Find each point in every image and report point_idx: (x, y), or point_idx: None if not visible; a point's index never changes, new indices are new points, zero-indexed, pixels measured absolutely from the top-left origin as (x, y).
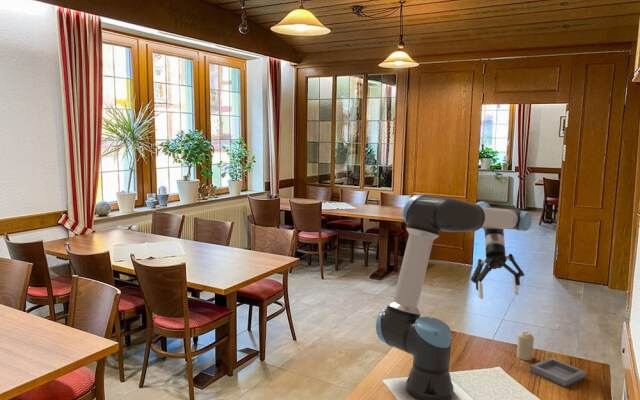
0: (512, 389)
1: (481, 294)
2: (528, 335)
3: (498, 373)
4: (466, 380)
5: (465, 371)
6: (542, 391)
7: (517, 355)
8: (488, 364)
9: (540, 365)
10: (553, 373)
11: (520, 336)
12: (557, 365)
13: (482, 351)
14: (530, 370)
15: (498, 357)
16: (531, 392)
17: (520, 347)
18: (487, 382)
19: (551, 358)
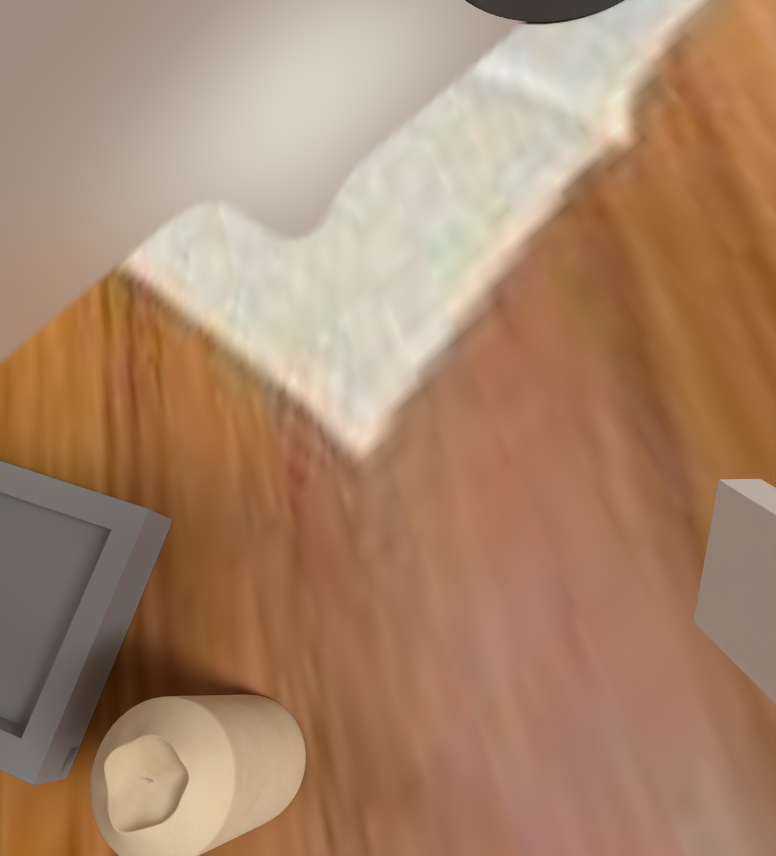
0: (220, 233)
1: (751, 578)
2: (120, 742)
3: (335, 353)
4: (457, 144)
5: (511, 231)
6: (83, 325)
7: (290, 718)
8: (432, 431)
9: (95, 575)
10: (10, 492)
11: (204, 715)
12: (6, 722)
13: (562, 631)
14: (165, 517)
15: (415, 606)
16: (131, 274)
17: (237, 700)
18: (353, 206)
19: (28, 760)
